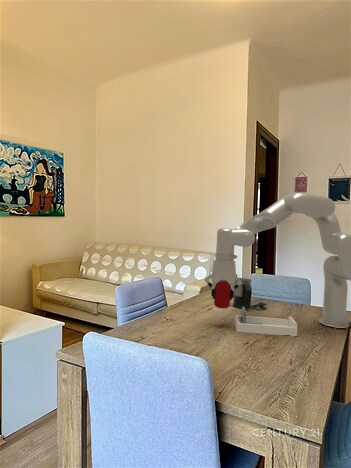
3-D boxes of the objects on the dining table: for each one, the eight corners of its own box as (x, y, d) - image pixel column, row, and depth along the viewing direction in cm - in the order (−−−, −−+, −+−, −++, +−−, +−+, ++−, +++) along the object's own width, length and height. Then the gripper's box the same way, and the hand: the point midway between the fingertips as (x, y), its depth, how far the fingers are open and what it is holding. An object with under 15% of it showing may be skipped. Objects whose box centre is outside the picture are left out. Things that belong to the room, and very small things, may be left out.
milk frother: (229, 305, 174) (230, 278, 174) (251, 302, 182) (253, 276, 181) (246, 312, 162) (248, 283, 161) (270, 309, 169) (271, 281, 168)
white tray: (290, 327, 141) (291, 316, 141) (296, 336, 130) (297, 324, 130) (234, 323, 144) (235, 311, 144) (236, 331, 133) (237, 319, 133)
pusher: (261, 323, 141) (261, 307, 141) (264, 329, 133) (264, 313, 132) (241, 321, 142) (242, 306, 142) (243, 328, 134) (243, 312, 133)
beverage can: (229, 305, 142) (230, 278, 141) (230, 309, 135) (231, 281, 135) (213, 304, 142) (215, 277, 142) (214, 308, 136) (215, 280, 135)
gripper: (244, 257, 140) (242, 298, 141) (204, 255, 143) (202, 295, 143) (246, 259, 133) (243, 302, 134) (204, 257, 135) (201, 299, 136)
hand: (222, 298), depth 139 cm, fingers closed on beverage can, 6 cm apart
